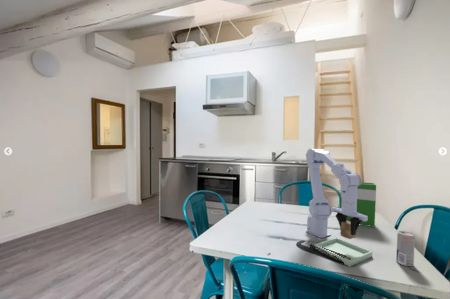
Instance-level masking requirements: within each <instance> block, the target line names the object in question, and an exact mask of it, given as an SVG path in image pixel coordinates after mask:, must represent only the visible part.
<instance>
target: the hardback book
mask: <svg viewBox="0 0 450 299" xmlns="http://www.w3.org/2000/svg"><path fill="white" fill-rule="evenodd" d="M339 197H340V198H339V208H341V206H342V190H341V189H340V196H339ZM376 199H377V184H376V183H374V182H366V181H365V182H364V181H361V184H360V185H359V186H358V187H357V212H358V213H360V214H363V215H366V216H368V221H361V223H360V224H362V225H361V226H363V225H370V226H375V224H376V222H375V221H376V203H377V201H376ZM351 218H353V217H350V216H347V218H346V221H350V219H351ZM375 227H376V226H375Z"/></svg>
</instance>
